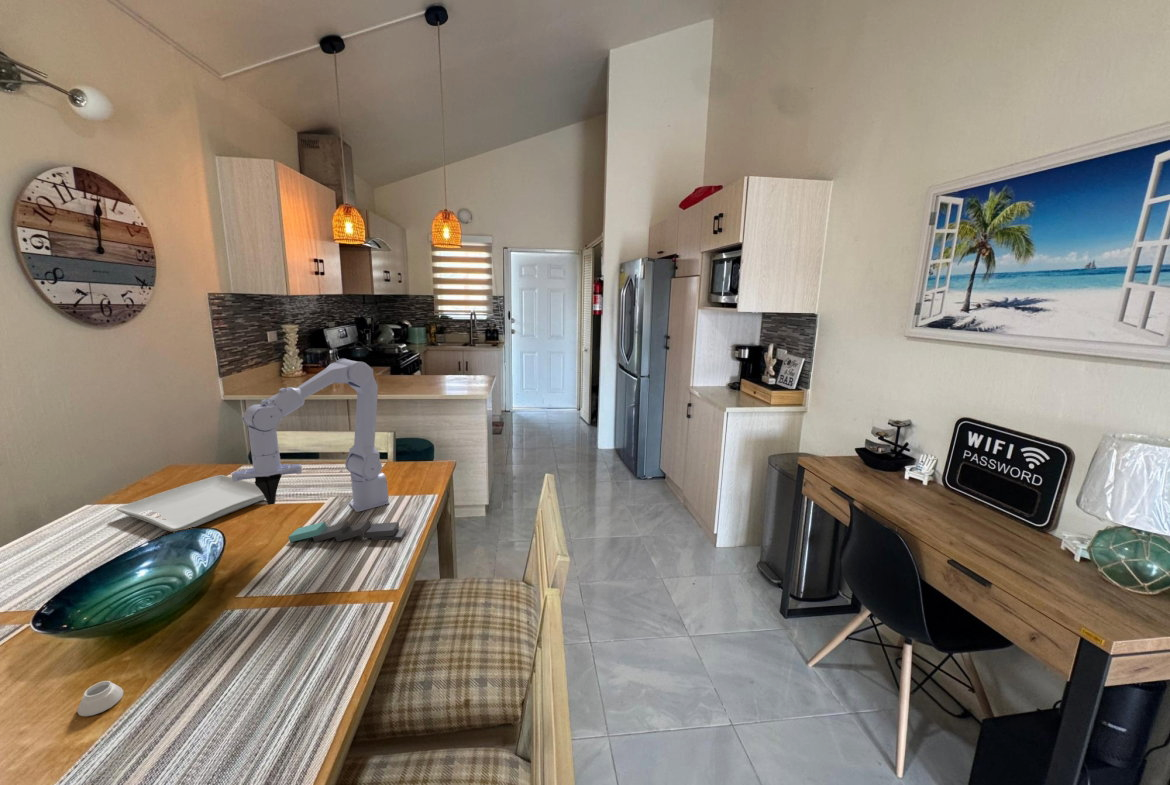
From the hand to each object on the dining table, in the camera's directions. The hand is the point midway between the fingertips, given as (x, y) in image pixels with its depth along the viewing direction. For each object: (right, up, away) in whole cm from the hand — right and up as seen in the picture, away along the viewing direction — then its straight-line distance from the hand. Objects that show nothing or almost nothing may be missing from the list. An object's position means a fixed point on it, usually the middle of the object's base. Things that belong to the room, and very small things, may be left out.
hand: (271, 502), depth 121 cm
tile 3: (+16, -9, +3) cm, 19 cm away
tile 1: (+25, -10, +4) cm, 27 cm away
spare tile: (+4, -9, +2) cm, 10 cm away
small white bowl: (+4, -21, -47) cm, 51 cm away
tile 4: (+10, -9, +3) cm, 14 cm away
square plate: (-32, -6, +18) cm, 37 cm away
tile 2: (+23, -8, +4) cm, 24 cm away
